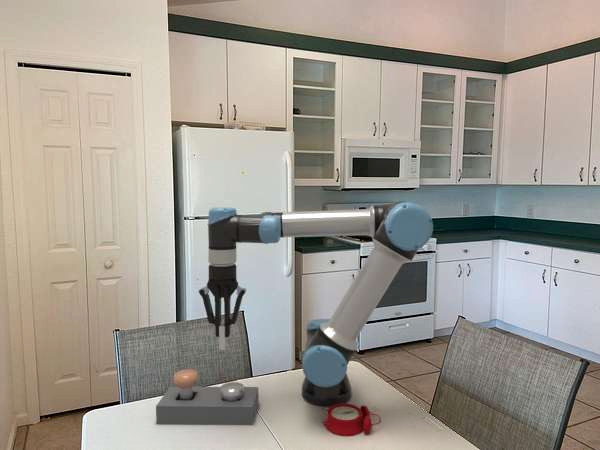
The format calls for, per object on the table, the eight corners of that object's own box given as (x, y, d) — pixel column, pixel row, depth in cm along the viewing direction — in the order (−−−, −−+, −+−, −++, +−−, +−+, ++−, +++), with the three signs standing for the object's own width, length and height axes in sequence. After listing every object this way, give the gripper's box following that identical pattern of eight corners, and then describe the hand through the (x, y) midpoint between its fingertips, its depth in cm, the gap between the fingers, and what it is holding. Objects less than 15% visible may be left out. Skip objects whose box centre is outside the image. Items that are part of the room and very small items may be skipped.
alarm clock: (320, 403, 124) (373, 392, 123) (325, 424, 124) (378, 413, 123) (320, 422, 114) (378, 410, 113) (326, 446, 114) (384, 434, 113)
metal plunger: (245, 407, 129) (245, 382, 128) (242, 418, 122) (241, 392, 122) (223, 406, 129) (223, 382, 128) (218, 418, 123) (218, 392, 122)
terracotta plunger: (200, 394, 129) (199, 369, 128) (194, 405, 122) (193, 378, 122) (178, 394, 129) (177, 369, 129) (171, 404, 123) (170, 378, 122)
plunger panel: (258, 403, 131) (258, 387, 131) (252, 425, 119) (252, 406, 119) (171, 402, 132) (170, 386, 132) (156, 424, 120) (155, 406, 120)
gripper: (248, 262, 126) (248, 343, 128) (202, 261, 126) (203, 342, 128) (244, 266, 118) (244, 353, 120) (195, 265, 119) (196, 352, 121)
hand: (222, 348), depth 124 cm, fingers closed
